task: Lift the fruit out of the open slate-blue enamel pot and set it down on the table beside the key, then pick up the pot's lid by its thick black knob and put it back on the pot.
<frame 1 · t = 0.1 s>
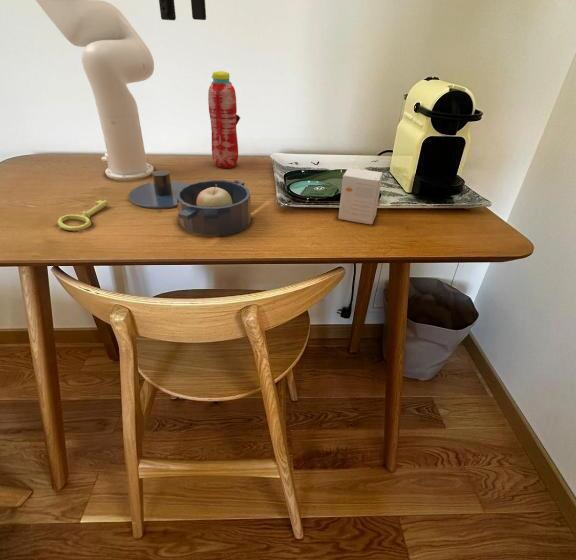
hand: (184, 19, 81), 37 cm above the table, tool pointing down, fingers open, 9 cm apart
pot: (215, 220, 88), on the table
key: (86, 220, 86), on the table
water bottle: (227, 164, 119), on the table
fruit: (215, 219, 88), resting on pot
lid: (164, 195, 97), point 1 cm above the table
small box: (356, 218, 92), on the table
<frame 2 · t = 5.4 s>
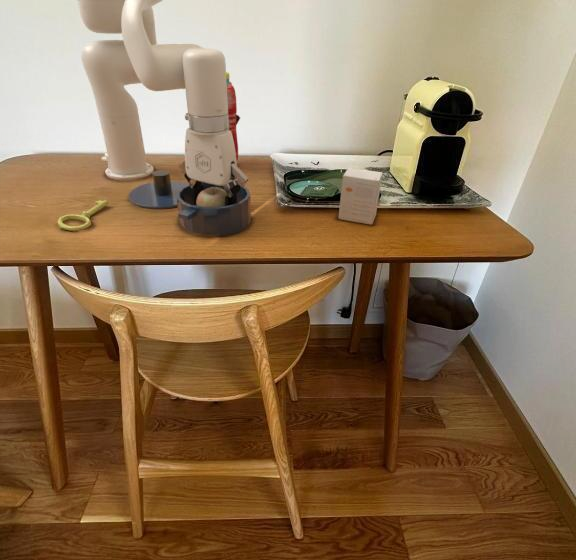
hand: (215, 207, 86), 3 cm above the table, tool pointing down, fingers closed on fruit, 7 cm apart
fruit: (215, 219, 88), resting on pot, touching gripper
everything else where it was.
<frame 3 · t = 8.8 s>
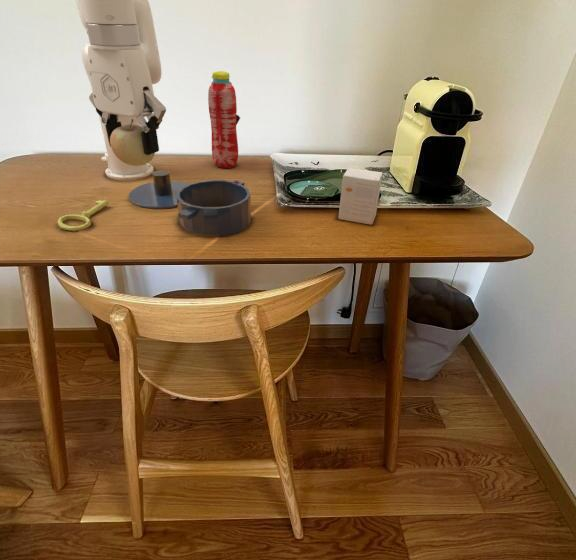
hand: (134, 148, 73), 17 cm above the table, tool pointing down, fingers closed on fruit, 7 cm apart
fruit: (136, 164, 75), point 14 cm above the table, touching gripper
everything else where it was.
when the fingers open (3 cm above the table, at t = 12.7 s): fruit stays where it is, on the table.
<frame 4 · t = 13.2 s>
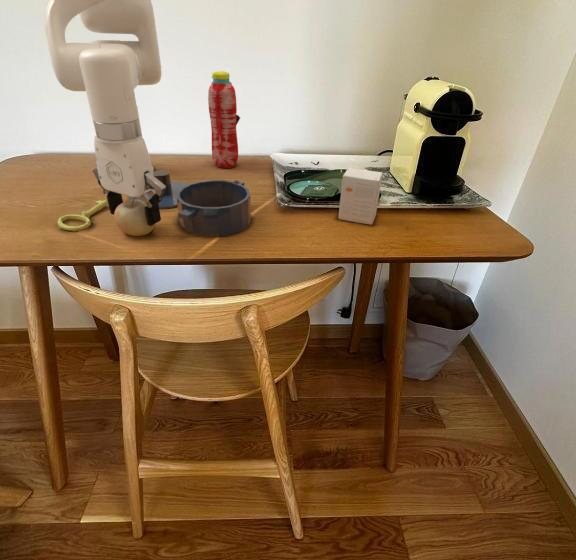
hand: (135, 217, 80), 4 cm above the table, tool pointing down, fingers open, 9 cm apart
fruit: (138, 234, 82), on the table
everything else where it was.
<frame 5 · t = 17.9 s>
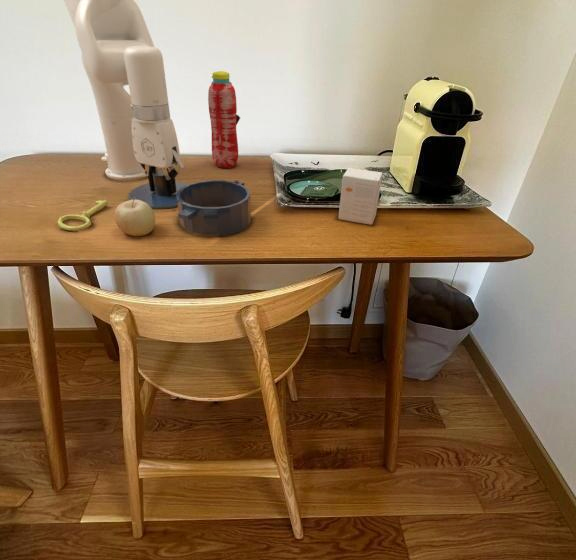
hand: (163, 191, 96), 2 cm above the table, tool pointing down, fingers closed on lid, 4 cm apart
lid: (164, 195, 97), point 1 cm above the table, touching gripper
everything else where it was.
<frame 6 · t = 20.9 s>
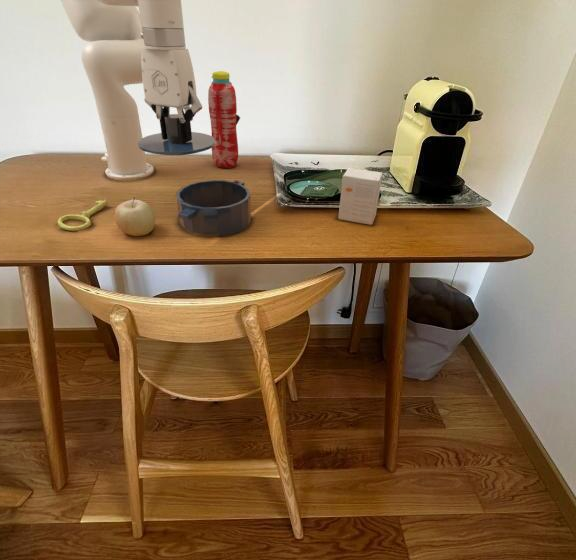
hand: (177, 139, 84), 16 cm above the table, tool pointing down, fingers closed on lid, 4 cm apart
lid: (177, 143, 85), point 15 cm above the table, touching gripper
everything else where it was.
when the fingers open (7 cm above the table, at t = 24.2 s): lid stays where it is, resting on pot.
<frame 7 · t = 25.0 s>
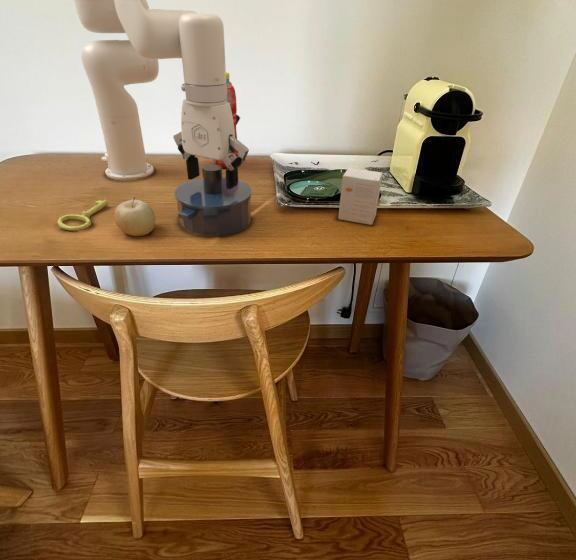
hand: (212, 182, 83), 9 cm above the table, tool pointing down, fingers open, 9 cm apart
lid: (213, 193, 84), point 6 cm above the table, touching pot
everything else where it was.
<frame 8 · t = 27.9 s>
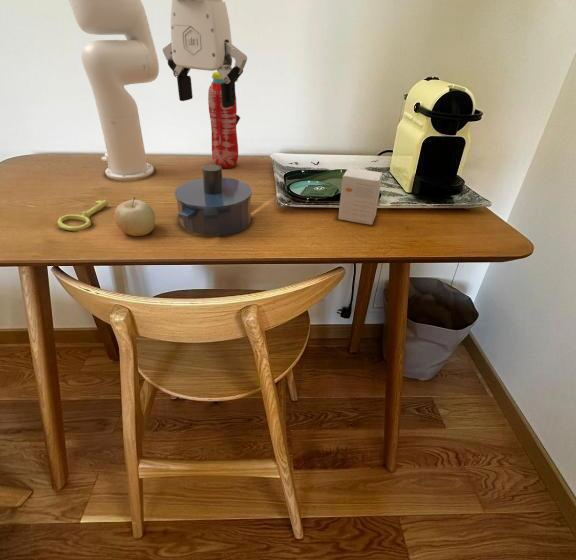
hand: (207, 103, 74), 24 cm above the table, tool pointing down, fingers open, 9 cm apart
nothing on the table moved.
at the end: fruit inside the target area (0.2 cm from its centre), on the table; lid 0.1 cm off-centre on the pot, point 6.4 cm above the pot's base; lid tilted 0° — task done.
